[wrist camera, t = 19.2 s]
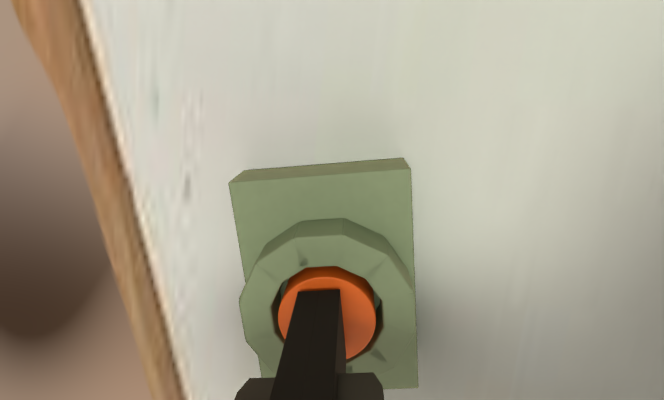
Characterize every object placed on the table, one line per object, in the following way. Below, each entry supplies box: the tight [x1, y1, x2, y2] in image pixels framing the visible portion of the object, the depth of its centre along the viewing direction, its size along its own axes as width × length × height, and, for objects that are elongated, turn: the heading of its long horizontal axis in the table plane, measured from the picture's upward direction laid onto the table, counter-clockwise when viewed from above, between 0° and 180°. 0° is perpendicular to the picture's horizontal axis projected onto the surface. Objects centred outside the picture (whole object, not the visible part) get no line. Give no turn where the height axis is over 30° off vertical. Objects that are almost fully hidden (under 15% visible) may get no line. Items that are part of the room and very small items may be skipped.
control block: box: [229, 158, 418, 389], centre depth 16 cm, size 10×7×4 cm
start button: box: [278, 266, 376, 359], centre depth 15 cm, size 4×4×2 cm
